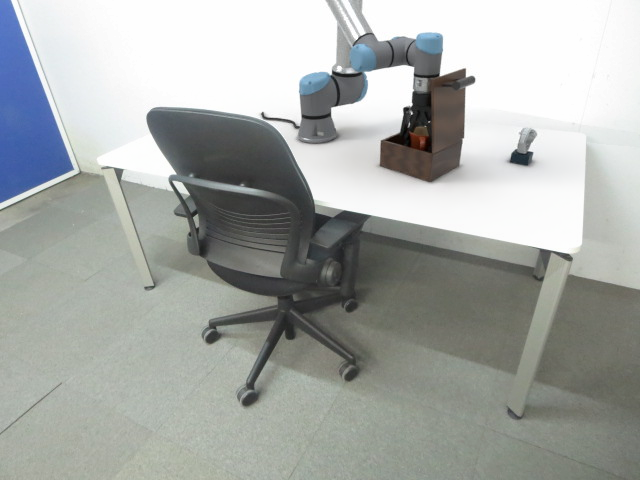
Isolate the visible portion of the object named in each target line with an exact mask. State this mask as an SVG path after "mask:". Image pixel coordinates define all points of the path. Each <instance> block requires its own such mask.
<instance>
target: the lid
mask: <svg viewBox="0 0 640 480" xmlns="http://www.w3.org/2000/svg"><path fill="white" fill-rule="evenodd" d="M475 83H476V77H475V76H474V75H469V76H467V68H466V67H464V68H460V69H457V70H454V71H451V72H449V73H445V74H443V75H440V76H439V77H436V78H433V79H431V104H432V153H436V152H438V151H440V150H442V149H444V148H446V147H448V146H450V145H452V144H454V143H456V142H458V141H460V140H462V139H465V127H466V125H465V123H466V91H467V90H466V89H467V87H469V86H472V85H474V84H475Z"/></svg>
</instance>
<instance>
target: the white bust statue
mask: <svg viewBox="0 0 640 480" xmlns="http://www.w3.org/2000/svg"><path fill="white" fill-rule="evenodd" d="M518 135H519V139H518V143H517V145H516V148H515V149H513V151H512V152H511V154H510V159H509V163H512V164H518V165H522V166H528V167H529V165H530V164H531V163H532V161H533V157H534V151H531V150H530V151H529V149H530V147H531V145H532V143H534V141H535V139H536V138H537V136H538V131H537V130H536V129H535V128H533V127H529V126H528V127H522V129H521V131H519V132H518Z"/></svg>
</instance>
